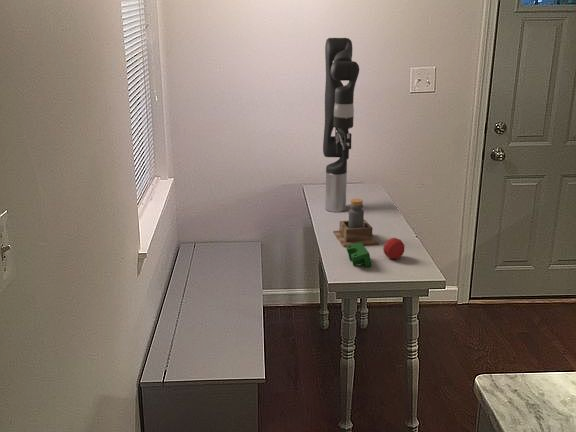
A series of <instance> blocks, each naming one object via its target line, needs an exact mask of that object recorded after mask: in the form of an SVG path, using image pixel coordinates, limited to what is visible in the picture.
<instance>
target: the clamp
mask: <svg viewBox="0 0 576 432" xmlns="http://www.w3.org/2000/svg"><path fill="white" fill-rule="evenodd" d="M345 249H346V252H347V254H348V259H349V261H350V262H351V261H352V266H353V267H355V266H359V265H362V264H363V265H364V267H365V268H368V267H371V266H372V265H373V264H372V260H371V255H370V252H369V250H368V249H367V248H366V246H364V245H363V244H362V243H361V242H359V243H355V244H352V245H349V246H347V247H345Z"/></svg>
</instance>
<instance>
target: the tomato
mask: <svg viewBox="0 0 576 432" xmlns="http://www.w3.org/2000/svg"><path fill="white" fill-rule="evenodd" d="M382 248H383V249H382V250H383V253H384V255H385V256H386V257H387V258H389V259H391V260H396V259H399V258H400V257H402V256H403V254H404V253H405V244H404V242H403V241H402V240H401V239H399V238H396V237H391V238H389V239H388V240H386V242H385V243H384V246H383V247H382Z"/></svg>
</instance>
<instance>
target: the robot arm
mask: <svg viewBox="0 0 576 432" xmlns="http://www.w3.org/2000/svg"><path fill="white" fill-rule="evenodd" d="M324 48H325V49H324V50H325V51H324V54H325V55H324V56H325V57H324V58H325V59H324V60H325V88H324V89H325V90H324V127H323V128H324V129H323V142H322V152H323V156H324V157H325V158H338V159H337V160H336V161H334V162H332V163H328V164H326V167H325V203H324V204H325V205H324V206H325V207H324V209H325V210H326V211H328V212H332V213H337V212H338V213H339V212H344V211H346V208H347V181H348V179H347V178H348V177H347V176H348V173H347V172H348V160H349V156H350V150H351V149H352V133H350V132H349V129H352V128H353V127H354V118H355V117H354V115H355V114H354V111H355V107H354V95H355V94H354V92H355V87H356V83H357V81H358V77H359V74H360V66H359V63H358V62H356V61H353V59H352V58H353V42H352V40H351V39H350V38H348V37H328V38H327V39H326V41H325V47H324ZM342 81H346V82H347V81H348V83H347V84H345V85H344V84H343V82H342ZM334 128H335V129H334ZM333 130H335V132H334V133H335V134H334V135H333V136H332V134H333Z"/></svg>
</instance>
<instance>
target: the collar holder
mask: <svg viewBox="0 0 576 432" xmlns="http://www.w3.org/2000/svg"><path fill="white" fill-rule="evenodd" d="M348 224H349V220H339V229H338V230H333V231H332V232H333V233H334V234H333V233H332V234H333V235H334V236H335V237H336V239H337V240H338V242H339V243H340V244H341V246H342V247H343V248H346V247H347V246H349V245H352V244H355V243H359V242H361V243H362V244H363V245H364V247H366V246H379V244H380V243H379V241H378V240H377V239H376V238H375V236H374V235H373V227H372V226H371V224H370V223H368V222H367V220H366V219H364V221H363V228H348Z"/></svg>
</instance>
